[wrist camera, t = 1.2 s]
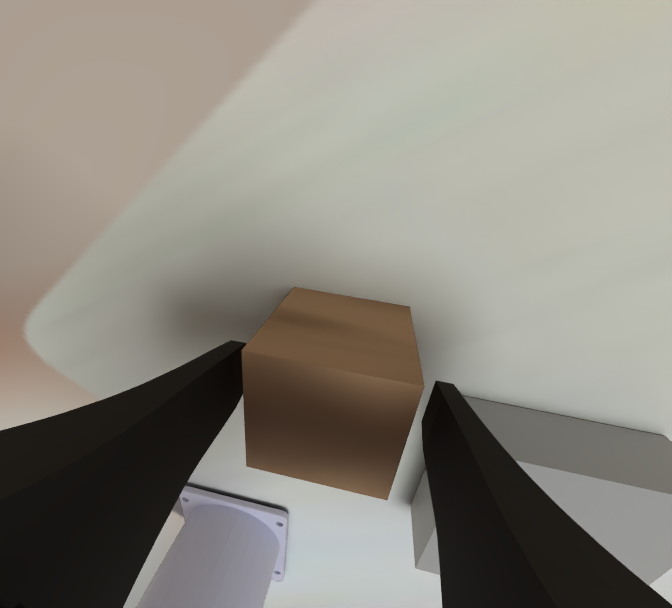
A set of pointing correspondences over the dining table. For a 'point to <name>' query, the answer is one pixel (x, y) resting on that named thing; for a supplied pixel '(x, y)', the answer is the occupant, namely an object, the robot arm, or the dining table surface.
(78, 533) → the robot arm
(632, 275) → the dining table surface
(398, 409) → the block
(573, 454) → the base
